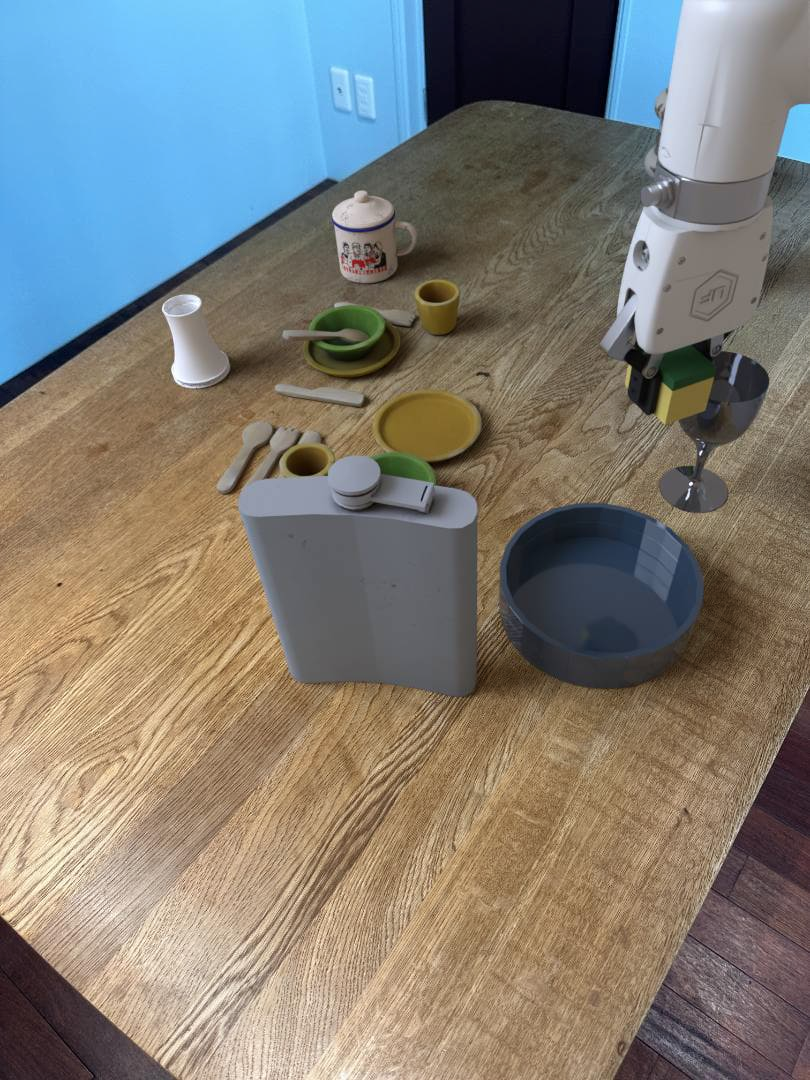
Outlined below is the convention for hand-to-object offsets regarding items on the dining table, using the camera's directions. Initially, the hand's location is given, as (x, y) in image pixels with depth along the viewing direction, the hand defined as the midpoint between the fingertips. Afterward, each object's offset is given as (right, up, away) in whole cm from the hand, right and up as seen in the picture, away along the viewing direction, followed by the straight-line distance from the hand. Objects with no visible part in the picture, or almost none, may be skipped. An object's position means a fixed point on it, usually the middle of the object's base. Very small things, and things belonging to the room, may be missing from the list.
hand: (665, 395), depth 69 cm
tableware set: (-25, +4, +31) cm, 41 cm away
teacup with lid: (-26, +28, +53) cm, 65 cm away
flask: (-24, -24, +6) cm, 35 cm away
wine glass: (+9, -7, +19) cm, 22 cm away
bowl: (-4, -19, +9) cm, 21 cm away
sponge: (0, 0, 0) cm, 0 cm away
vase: (-49, +10, +39) cm, 63 cm away
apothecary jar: (+22, +42, +61) cm, 77 cm away
